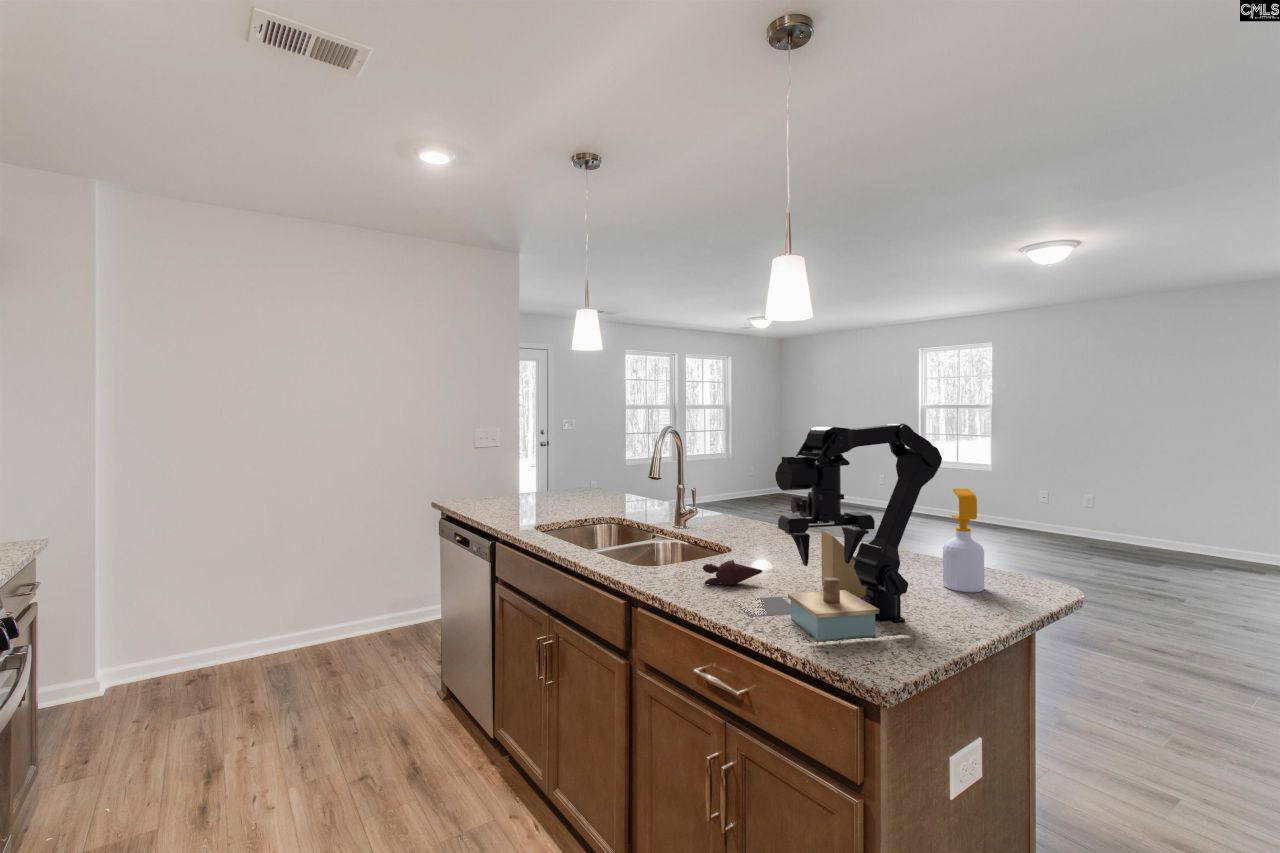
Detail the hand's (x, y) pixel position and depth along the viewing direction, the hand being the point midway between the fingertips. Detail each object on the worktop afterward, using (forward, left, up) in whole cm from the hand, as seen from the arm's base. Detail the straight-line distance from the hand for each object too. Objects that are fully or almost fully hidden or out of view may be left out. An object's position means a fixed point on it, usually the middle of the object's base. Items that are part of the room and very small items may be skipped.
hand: (826, 564), depth 122 cm
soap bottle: (-46, -19, -13) cm, 52 cm away
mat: (+8, -14, -13) cm, 20 cm away
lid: (0, +1, -8) cm, 8 cm away
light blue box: (0, +1, -13) cm, 13 cm away
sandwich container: (-19, -21, -13) cm, 32 cm away
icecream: (+9, -32, -13) cm, 36 cm away
